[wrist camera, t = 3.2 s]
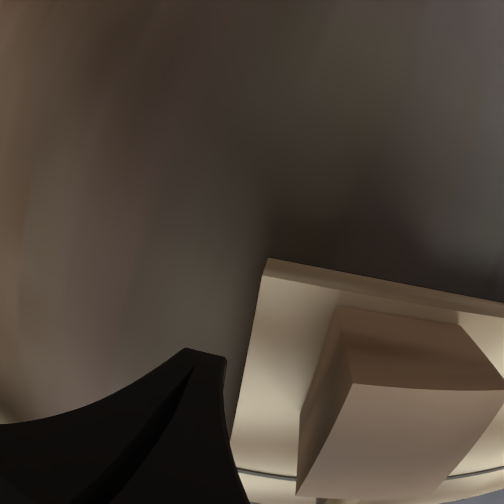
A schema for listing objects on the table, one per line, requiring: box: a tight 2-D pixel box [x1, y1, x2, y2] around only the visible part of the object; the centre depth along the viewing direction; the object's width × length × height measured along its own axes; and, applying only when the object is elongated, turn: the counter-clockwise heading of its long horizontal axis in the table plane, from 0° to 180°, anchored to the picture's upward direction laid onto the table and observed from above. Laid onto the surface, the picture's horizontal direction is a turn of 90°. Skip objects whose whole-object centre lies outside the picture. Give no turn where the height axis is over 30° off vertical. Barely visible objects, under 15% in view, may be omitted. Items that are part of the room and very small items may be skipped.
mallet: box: [295, 306, 504, 504], centre depth 9 cm, size 10×5×4 cm, turn 171°
